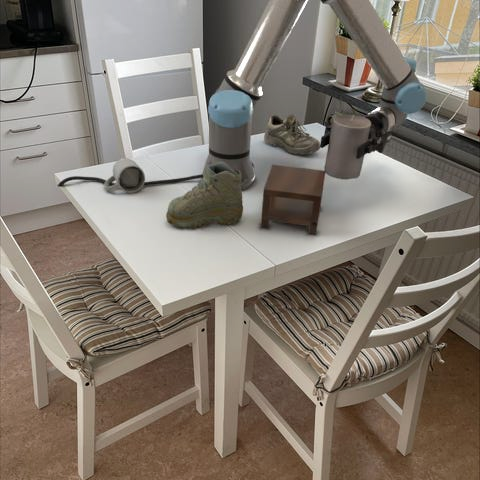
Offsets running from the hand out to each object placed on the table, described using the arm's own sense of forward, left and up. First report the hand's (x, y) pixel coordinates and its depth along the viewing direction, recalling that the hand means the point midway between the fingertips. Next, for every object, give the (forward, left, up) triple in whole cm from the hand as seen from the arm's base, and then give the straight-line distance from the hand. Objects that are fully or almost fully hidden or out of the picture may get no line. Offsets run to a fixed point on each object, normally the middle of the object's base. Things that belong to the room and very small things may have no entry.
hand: (339, 147), depth 128 cm
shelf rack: (-10, -9, -17) cm, 21 cm away
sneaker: (-31, -16, -17) cm, 39 cm away
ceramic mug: (-57, -4, -17) cm, 60 cm away
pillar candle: (+2, +4, -8) cm, 9 cm away
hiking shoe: (-15, +39, -17) cm, 45 cm away
